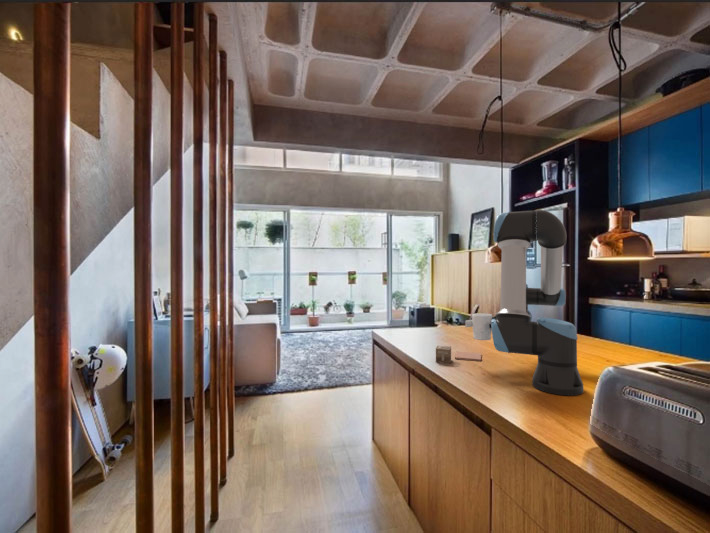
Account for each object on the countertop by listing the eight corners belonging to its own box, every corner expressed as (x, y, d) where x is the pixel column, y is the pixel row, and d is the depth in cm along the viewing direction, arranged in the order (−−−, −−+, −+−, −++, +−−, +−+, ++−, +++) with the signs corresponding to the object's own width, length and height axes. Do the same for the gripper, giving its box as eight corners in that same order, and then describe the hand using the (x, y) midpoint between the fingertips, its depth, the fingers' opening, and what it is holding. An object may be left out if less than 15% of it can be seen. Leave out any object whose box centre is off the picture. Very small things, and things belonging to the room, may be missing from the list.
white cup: (467, 338, 145) (467, 314, 145) (481, 336, 148) (481, 312, 148) (482, 341, 138) (482, 316, 138) (496, 339, 141) (496, 315, 141)
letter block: (450, 363, 149) (449, 349, 149) (435, 362, 151) (435, 348, 151) (451, 359, 155) (451, 346, 155) (437, 358, 157) (437, 345, 157)
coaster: (480, 361, 152) (480, 359, 152) (454, 359, 156) (454, 357, 156) (480, 354, 162) (480, 353, 162) (456, 353, 166) (456, 351, 166)
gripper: (529, 331, 145) (497, 338, 132) (486, 325, 162) (454, 330, 148) (529, 313, 145) (497, 319, 132) (486, 309, 162) (454, 313, 148)
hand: (474, 325), depth 140 cm, fingers closed on white cup, 7 cm apart
